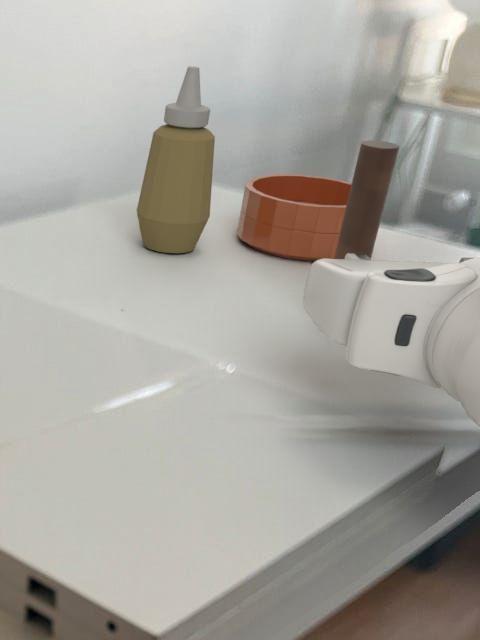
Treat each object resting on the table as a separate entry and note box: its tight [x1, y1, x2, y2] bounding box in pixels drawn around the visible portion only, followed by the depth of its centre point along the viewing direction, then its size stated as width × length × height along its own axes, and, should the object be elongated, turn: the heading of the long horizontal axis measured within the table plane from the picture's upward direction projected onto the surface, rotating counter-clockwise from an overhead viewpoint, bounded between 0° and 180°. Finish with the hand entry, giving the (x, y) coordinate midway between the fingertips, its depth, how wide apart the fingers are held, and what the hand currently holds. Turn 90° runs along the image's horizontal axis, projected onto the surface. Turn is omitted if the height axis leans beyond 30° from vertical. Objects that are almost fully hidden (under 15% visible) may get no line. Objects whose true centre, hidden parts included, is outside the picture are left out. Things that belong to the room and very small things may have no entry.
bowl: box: [236, 173, 352, 262], centre depth 118 cm, size 15×15×6 cm
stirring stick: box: [334, 139, 400, 260], centre depth 93 cm, size 3×3×16 cm
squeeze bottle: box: [136, 66, 216, 254], centre depth 111 cm, size 8×8×18 cm
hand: (409, 265), depth 83 cm, fingers open, 8 cm apart
